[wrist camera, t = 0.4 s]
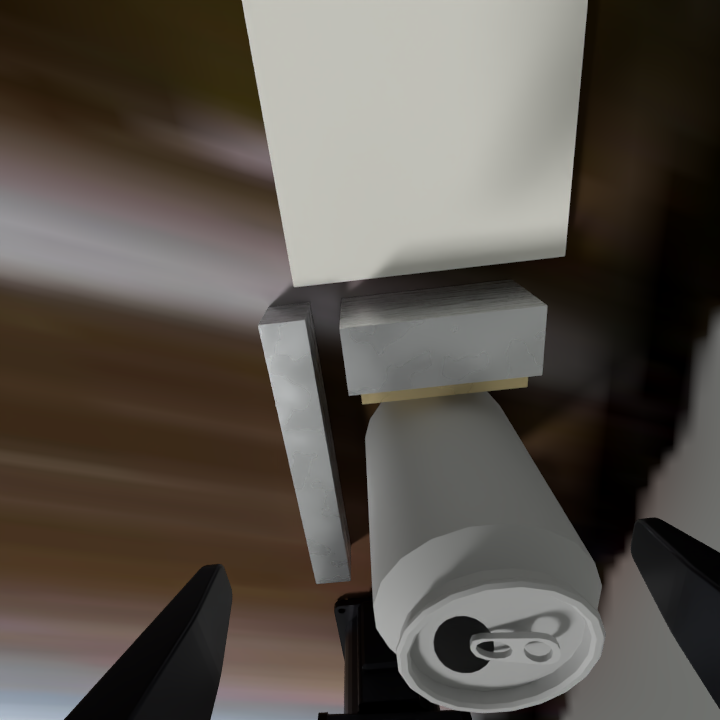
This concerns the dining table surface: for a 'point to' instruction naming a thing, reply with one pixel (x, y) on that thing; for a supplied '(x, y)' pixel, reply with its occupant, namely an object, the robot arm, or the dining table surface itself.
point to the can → (474, 559)
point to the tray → (418, 130)
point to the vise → (390, 378)
